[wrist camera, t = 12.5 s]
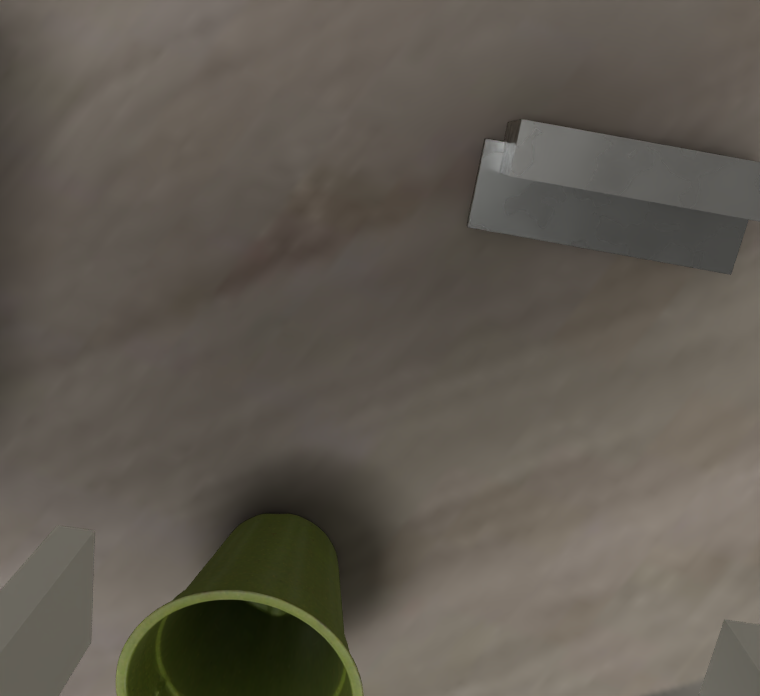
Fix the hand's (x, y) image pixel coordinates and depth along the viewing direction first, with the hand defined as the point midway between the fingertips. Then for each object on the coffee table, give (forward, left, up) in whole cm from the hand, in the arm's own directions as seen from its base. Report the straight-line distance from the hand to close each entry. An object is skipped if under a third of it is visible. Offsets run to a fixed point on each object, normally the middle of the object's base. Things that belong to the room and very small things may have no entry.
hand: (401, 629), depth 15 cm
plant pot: (-5, -17, -26) cm, 31 cm away
